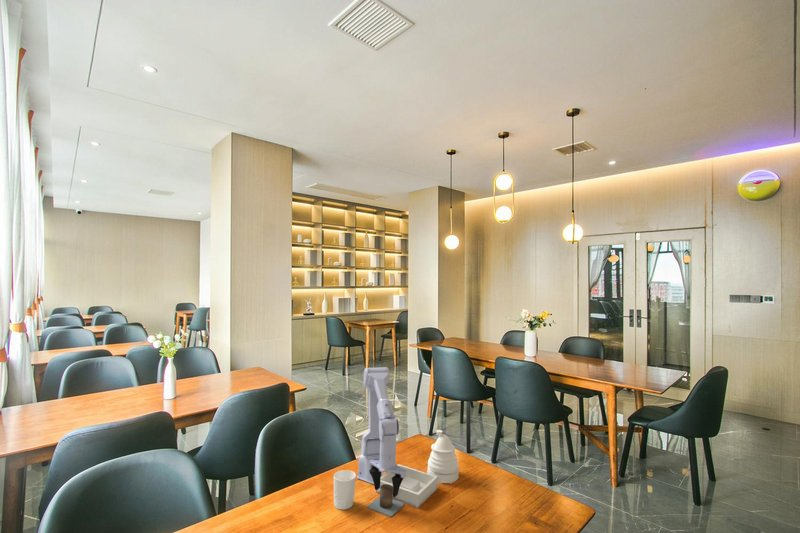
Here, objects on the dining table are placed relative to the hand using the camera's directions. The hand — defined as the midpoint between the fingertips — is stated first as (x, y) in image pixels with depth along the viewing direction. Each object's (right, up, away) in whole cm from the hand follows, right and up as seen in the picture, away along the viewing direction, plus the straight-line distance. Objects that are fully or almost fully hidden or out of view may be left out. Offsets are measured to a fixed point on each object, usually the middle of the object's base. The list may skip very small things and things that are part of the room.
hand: (386, 492), depth 133 cm
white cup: (-15, -4, 0) cm, 16 cm away
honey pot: (+23, -7, +23) cm, 33 cm away
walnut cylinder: (0, -4, 0) cm, 4 cm away
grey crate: (+8, -6, +11) cm, 14 cm away
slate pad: (0, -5, 0) cm, 5 cm away
